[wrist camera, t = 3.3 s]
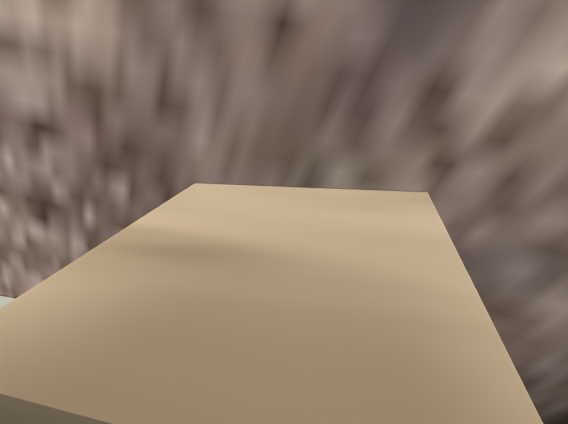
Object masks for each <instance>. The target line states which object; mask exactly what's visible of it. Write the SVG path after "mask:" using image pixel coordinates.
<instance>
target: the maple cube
mask: <svg viewBox="0 0 568 424" xmlns="http://www.w3.org/2000/svg"><path fill="white" fill-rule="evenodd" d="M0 424H543V422H542V420H541V418H540V416H539V414H538V412H537V410H536V408H535V406H534V404H533V402H532V400H531V398H530V396H529V394H528V392H527V390H526V388H525V386H524V384H523V382H522V380H521V378H520V376H519V374H518V372H517V370H516V368H515V366H514V364H513V362H512V360H511V358H510V356H509V354H508V352H507V350H506V348H505V346H504V344H503V342H502V340H501V338H500V336H499V334H498V332H497V330H496V328H495V326H494V324H493V322H492V320H491V318H490V316H489V314H488V312H487V310H486V308H485V306H484V304H483V302H482V300H481V298H480V296H479V294H478V292H477V290H476V288H475V286H474V284H473V282H472V280H471V278H470V276H469V274H468V272H467V270H466V268H465V266H464V264H463V262H462V260H461V258H460V256H459V254H458V252H457V250H456V248H455V246H454V244H453V242H452V240H451V238H450V236H449V234H448V232H447V230H446V228H445V226H444V224H443V222H442V220H441V218H440V216H439V214H438V212H437V210H436V208H435V206H434V204H433V202H432V200H431V198H430V196H429V194H428V193H426V192H400V191H375V190H349V189H324V188H298V187H273V186H247V185H222V184H197V183H195V184H193V185H192V186H190V187H189V188H187V189H185V190H184V191H182V192H181V193H179V194H178V195H176V196H175V197H173V198H171V199H170V200H168V201H167V202H165V203H164V204H162V205H161V206H159V207H157V208H156V209H154V210H153V211H151V212H150V213H148V214H147V215H145V216H143V217H142V218H140V219H139V220H137V221H136V222H134V223H133V224H131V225H129V226H128V227H126V228H125V229H123V230H122V231H120V232H119V233H117V234H115V235H114V236H112V237H111V238H109V239H108V240H106V241H105V242H103V243H101V244H100V245H98V246H97V247H95V248H94V249H92V250H91V251H89V252H87V253H86V254H84V255H83V256H81V257H80V258H78V259H77V260H75V261H73V262H72V263H70V264H69V265H67V266H66V267H64V268H63V269H61V270H59V271H58V272H56V273H55V274H53V275H52V276H50V277H49V278H47V279H45V280H44V281H42V282H41V283H39V284H38V285H36V286H35V287H33V288H31V289H30V290H28V291H27V292H25V293H24V294H22V295H21V296H19V297H18V298H16V299H14V300H13V301H11V302H10V303H8V304H7V305H5V306H4V307H2V308H0Z"/></svg>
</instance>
